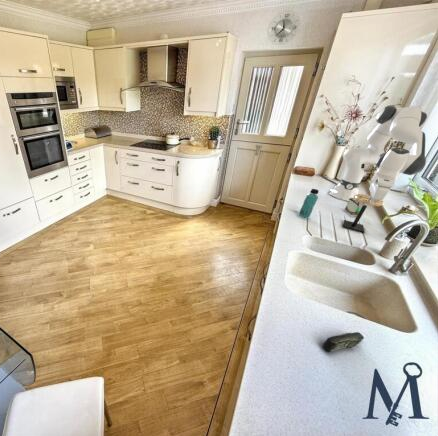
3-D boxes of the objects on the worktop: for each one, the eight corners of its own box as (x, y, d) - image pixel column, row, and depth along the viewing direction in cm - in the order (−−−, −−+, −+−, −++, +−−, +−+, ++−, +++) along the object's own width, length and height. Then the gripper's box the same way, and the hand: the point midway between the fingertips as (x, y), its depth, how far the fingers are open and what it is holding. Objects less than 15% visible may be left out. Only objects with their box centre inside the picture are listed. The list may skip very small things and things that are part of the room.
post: (342, 221, 153) (354, 200, 145) (362, 226, 148) (374, 205, 140) (343, 227, 145) (355, 206, 138) (363, 233, 141) (377, 211, 133)
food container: (362, 219, 156) (370, 206, 151) (352, 218, 157) (360, 204, 152) (352, 210, 167) (359, 198, 162) (343, 209, 168) (349, 197, 163)
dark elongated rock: (334, 345, 73) (371, 335, 76) (325, 337, 75) (361, 327, 78) (327, 354, 75) (363, 344, 78) (319, 345, 78) (354, 336, 81)
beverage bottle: (308, 216, 157) (320, 188, 147) (309, 220, 151) (322, 192, 141) (297, 213, 159) (308, 186, 149) (298, 218, 154) (310, 190, 144)
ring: (352, 195, 146) (353, 191, 145) (380, 201, 139) (382, 197, 138) (353, 202, 136) (355, 198, 135) (384, 209, 129) (387, 205, 128)
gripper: (373, 173, 135) (361, 195, 142) (378, 183, 120) (365, 207, 127) (387, 175, 132) (374, 197, 138) (394, 186, 117) (380, 210, 124)
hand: (370, 202), depth 133 cm, fingers closed on ring, 2 cm apart
